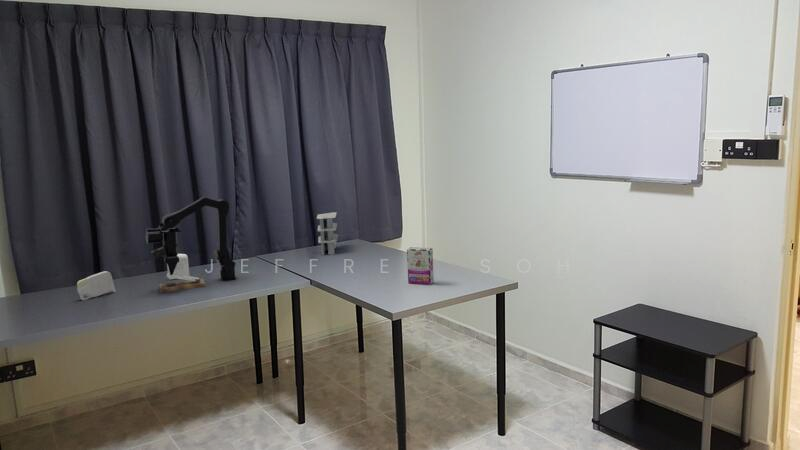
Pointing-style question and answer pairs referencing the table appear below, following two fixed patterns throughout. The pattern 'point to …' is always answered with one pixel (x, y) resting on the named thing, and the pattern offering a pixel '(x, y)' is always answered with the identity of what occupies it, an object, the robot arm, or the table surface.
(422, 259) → the candy bar box
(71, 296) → the table surface
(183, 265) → the photo printer
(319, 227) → the file organizer
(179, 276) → the bar
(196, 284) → the walnut board
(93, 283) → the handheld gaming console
